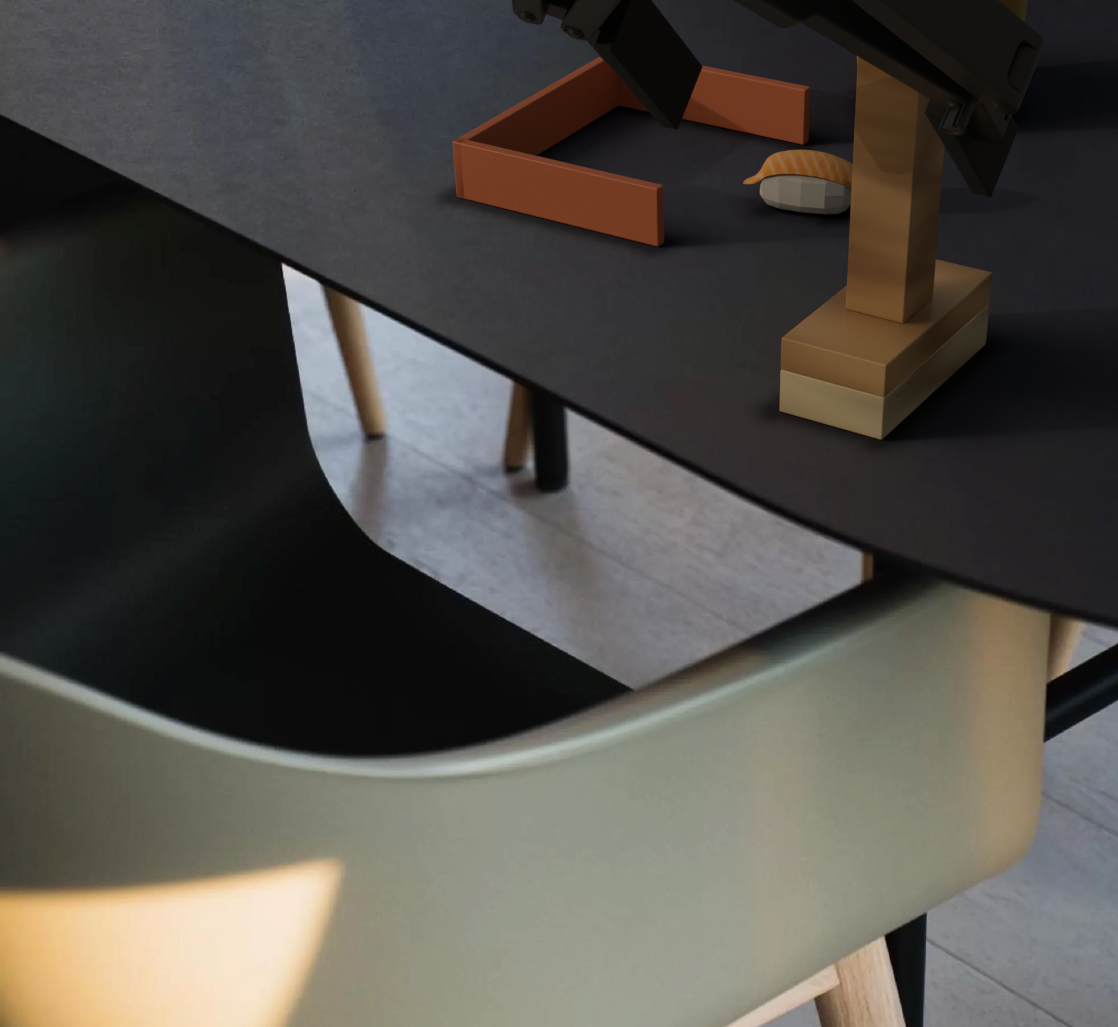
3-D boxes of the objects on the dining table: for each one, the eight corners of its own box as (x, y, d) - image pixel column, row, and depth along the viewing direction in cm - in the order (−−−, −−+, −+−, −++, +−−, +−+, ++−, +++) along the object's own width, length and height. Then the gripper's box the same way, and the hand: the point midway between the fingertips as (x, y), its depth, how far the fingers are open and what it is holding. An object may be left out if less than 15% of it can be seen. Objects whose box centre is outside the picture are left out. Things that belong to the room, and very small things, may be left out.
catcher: (809, 141, 111) (811, 86, 109) (658, 247, 102) (657, 189, 100) (615, 100, 117) (614, 47, 115) (456, 197, 108) (451, 141, 106)
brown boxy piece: (887, 319, 95) (909, -26, 85) (986, 344, 93) (1020, -8, 83) (778, 411, 89) (788, 51, 79) (881, 440, 87) (905, 73, 77)
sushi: (859, 224, 103) (862, 166, 101) (736, 211, 105) (737, 154, 103) (871, 202, 105) (874, 145, 103) (750, 190, 107) (751, 134, 105)
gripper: (237, -134, 66) (531, 158, 85) (945, -18, 54) (1102, 289, 73) (322, -356, 65) (598, -13, 84) (1051, -286, 54) (1181, 92, 73)
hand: (833, 128), depth 79 cm, fingers open, 13 cm apart
